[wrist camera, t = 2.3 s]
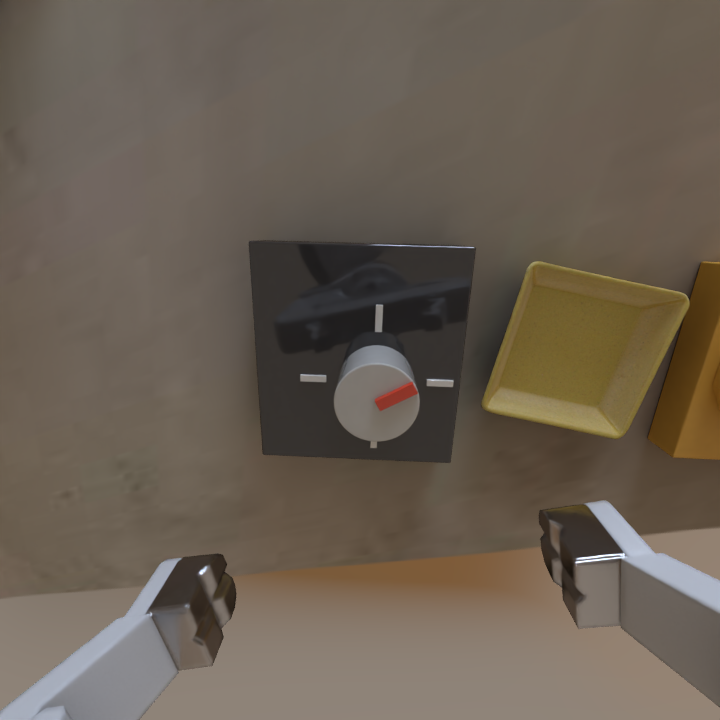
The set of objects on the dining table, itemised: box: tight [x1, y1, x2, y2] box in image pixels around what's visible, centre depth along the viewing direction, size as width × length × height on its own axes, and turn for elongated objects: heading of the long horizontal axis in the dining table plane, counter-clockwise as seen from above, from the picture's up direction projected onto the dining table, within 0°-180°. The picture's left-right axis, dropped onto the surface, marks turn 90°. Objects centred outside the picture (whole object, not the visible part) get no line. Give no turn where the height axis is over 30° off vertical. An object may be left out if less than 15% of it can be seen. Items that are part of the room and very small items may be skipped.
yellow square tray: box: [481, 261, 690, 439], centre depth 21 cm, size 9×9×2 cm
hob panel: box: [249, 240, 476, 463], centre depth 21 cm, size 12×11×3 cm
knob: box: [334, 345, 420, 442], centre depth 18 cm, size 4×4×3 cm
